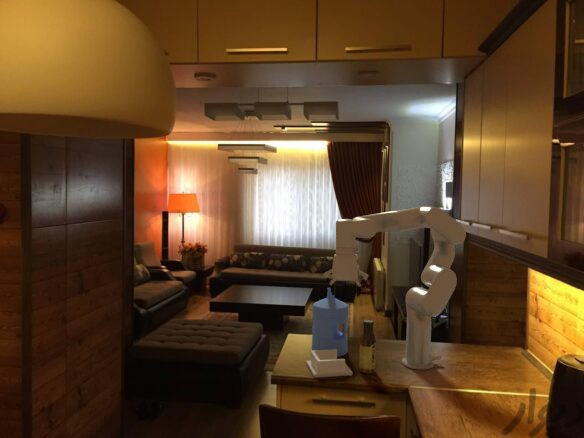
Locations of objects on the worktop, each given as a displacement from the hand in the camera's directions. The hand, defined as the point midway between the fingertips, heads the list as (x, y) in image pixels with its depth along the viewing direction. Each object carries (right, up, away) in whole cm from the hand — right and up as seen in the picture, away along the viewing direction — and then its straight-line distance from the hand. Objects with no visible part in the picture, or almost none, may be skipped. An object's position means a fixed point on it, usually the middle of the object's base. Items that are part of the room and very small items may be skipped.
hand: (345, 295), depth 177 cm
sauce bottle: (+8, -30, +2) cm, 31 cm away
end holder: (-6, -30, +3) cm, 31 cm away
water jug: (-5, -29, +23) cm, 37 cm away
